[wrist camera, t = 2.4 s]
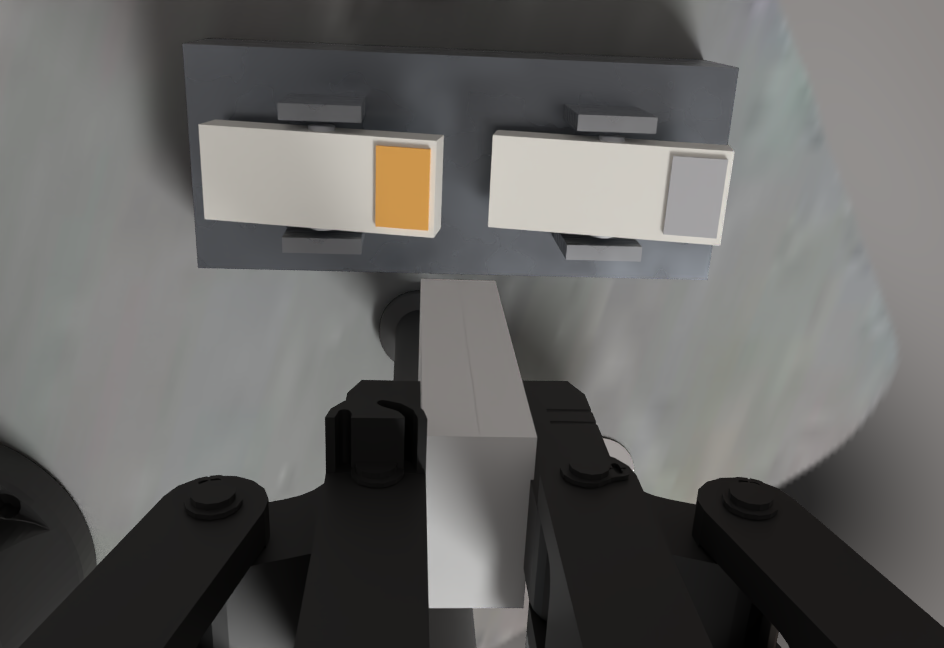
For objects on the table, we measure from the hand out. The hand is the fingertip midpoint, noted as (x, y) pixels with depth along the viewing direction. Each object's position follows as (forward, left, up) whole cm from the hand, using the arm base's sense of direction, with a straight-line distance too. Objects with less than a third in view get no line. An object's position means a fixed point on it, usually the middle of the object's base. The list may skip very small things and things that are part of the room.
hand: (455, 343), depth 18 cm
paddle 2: (+7, 0, -17) cm, 18 cm away
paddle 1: (-4, 0, -17) cm, 17 cm away
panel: (+1, 0, -24) cm, 24 cm away
